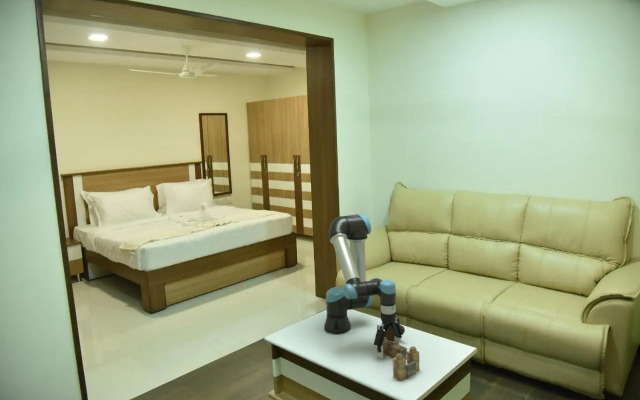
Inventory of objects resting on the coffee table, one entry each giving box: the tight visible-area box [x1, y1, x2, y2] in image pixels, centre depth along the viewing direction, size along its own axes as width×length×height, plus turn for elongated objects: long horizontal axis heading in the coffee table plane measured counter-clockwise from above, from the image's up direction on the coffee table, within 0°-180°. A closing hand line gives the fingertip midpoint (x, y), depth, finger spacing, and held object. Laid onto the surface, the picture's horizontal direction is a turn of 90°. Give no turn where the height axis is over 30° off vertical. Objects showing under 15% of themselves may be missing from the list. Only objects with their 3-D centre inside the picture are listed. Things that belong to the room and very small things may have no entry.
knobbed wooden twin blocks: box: [392, 345, 420, 382], centre depth 201 cm, size 5×14×11 cm, turn 129°
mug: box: [385, 324, 406, 342], centre depth 235 cm, size 12×8×9 cm, turn 43°
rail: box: [382, 338, 408, 361], centre depth 219 cm, size 15×4×6 cm, turn 39°
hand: (389, 353), depth 221 cm, fingers open, 11 cm apart
